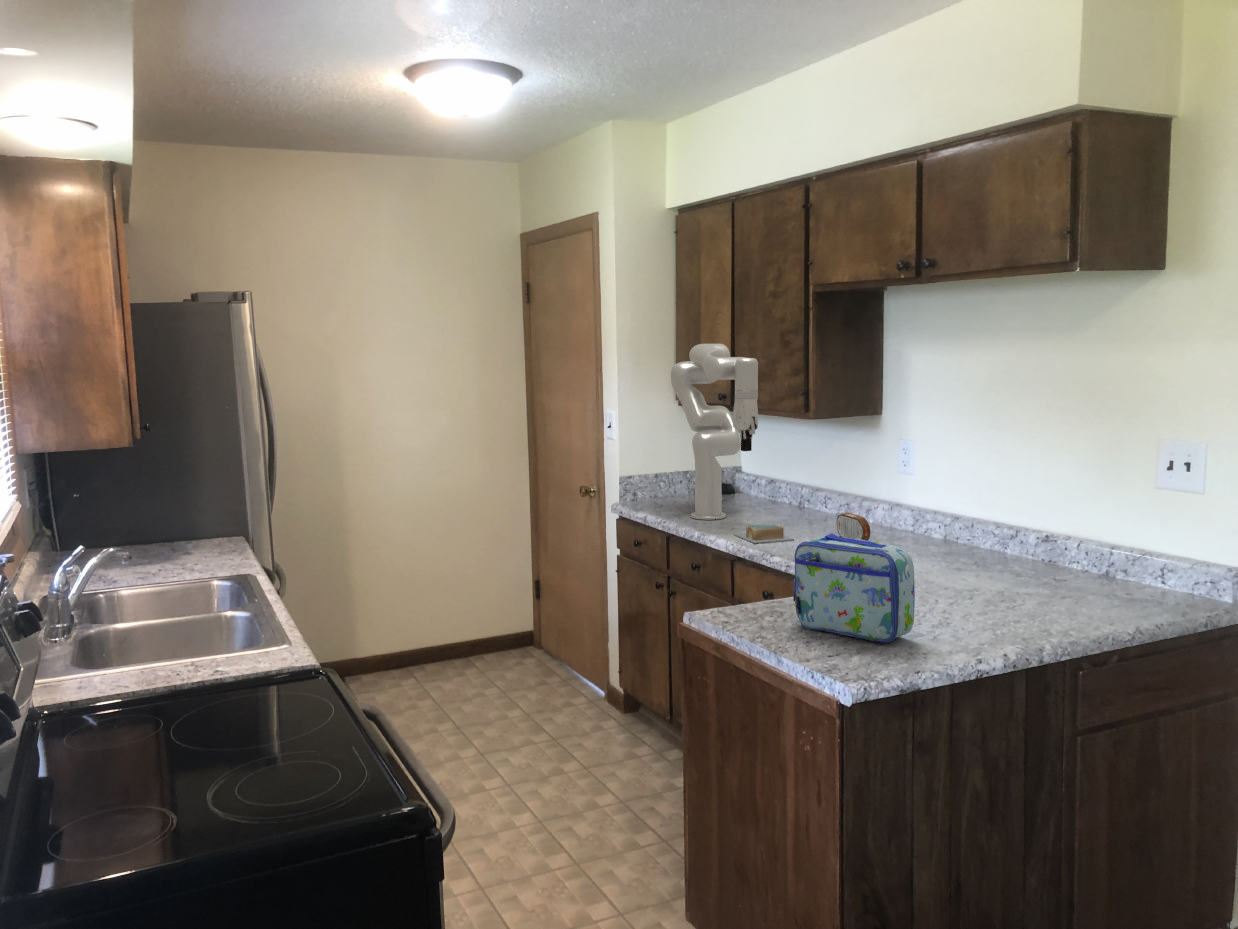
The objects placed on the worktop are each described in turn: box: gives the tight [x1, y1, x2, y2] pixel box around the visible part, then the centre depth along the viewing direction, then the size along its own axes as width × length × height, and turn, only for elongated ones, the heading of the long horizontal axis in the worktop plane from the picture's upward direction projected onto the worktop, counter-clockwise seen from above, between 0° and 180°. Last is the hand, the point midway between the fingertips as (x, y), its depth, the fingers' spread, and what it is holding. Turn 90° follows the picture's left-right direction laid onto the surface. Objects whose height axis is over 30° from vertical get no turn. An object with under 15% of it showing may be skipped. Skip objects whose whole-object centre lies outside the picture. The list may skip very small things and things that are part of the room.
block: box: [745, 523, 785, 541], centre depth 308 cm, size 4×10×6 cm
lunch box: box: [792, 532, 916, 644], centre depth 207 cm, size 26×11×21 cm, turn 44°
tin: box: [836, 512, 871, 541], centre depth 304 cm, size 15×3×8 cm, turn 22°
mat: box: [733, 532, 795, 545], centre depth 310 cm, size 15×14×1 cm
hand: (746, 450), depth 318 cm, fingers closed
